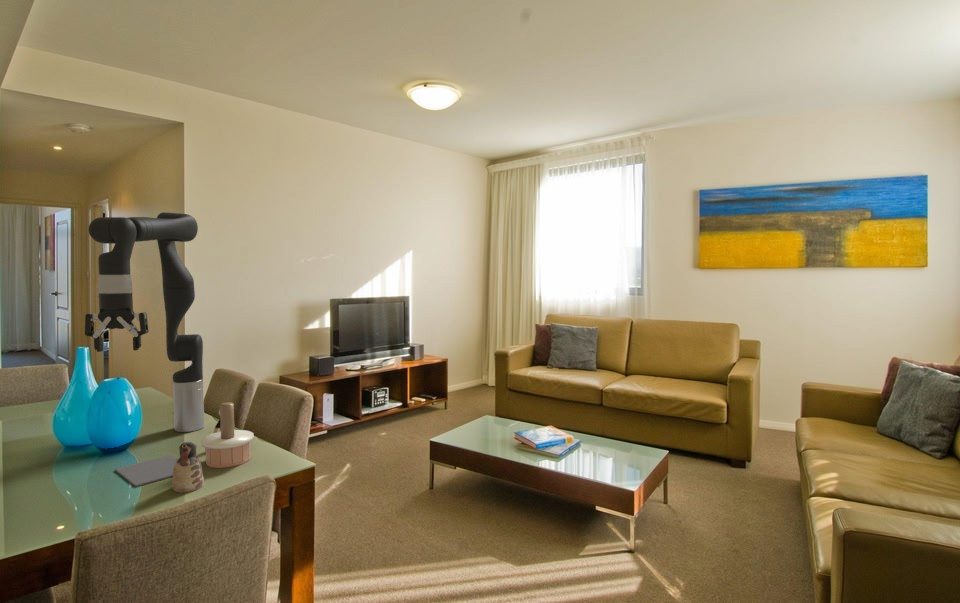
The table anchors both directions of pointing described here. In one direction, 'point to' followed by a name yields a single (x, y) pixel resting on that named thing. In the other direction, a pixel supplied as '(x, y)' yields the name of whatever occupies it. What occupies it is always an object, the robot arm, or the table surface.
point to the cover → (227, 431)
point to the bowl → (227, 456)
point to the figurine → (187, 470)
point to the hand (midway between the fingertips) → (118, 350)
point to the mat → (148, 471)
